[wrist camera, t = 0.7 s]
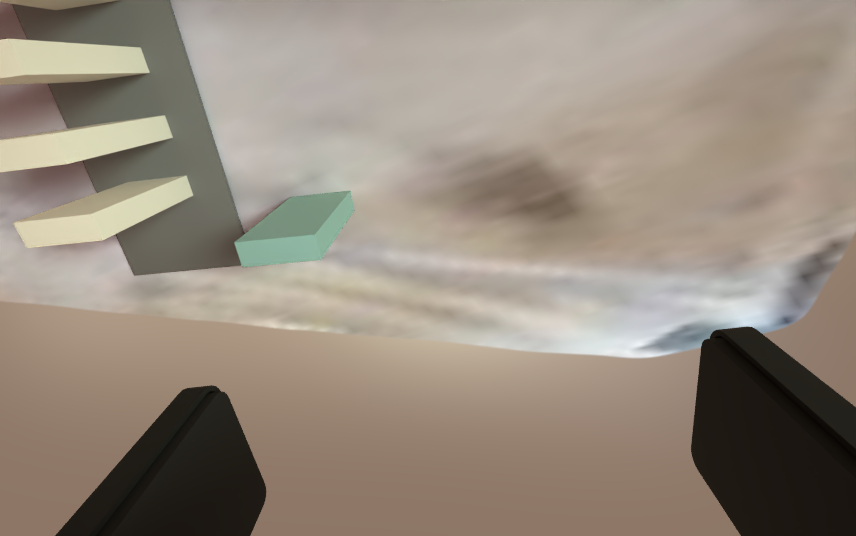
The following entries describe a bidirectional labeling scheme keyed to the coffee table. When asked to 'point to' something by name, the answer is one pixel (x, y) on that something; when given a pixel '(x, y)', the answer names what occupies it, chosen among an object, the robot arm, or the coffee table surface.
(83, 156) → the domino
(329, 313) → the coffee table surface
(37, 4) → the domino
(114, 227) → the domino
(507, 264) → the coffee table surface
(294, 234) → the teal domino
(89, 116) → the domino mat
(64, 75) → the domino
